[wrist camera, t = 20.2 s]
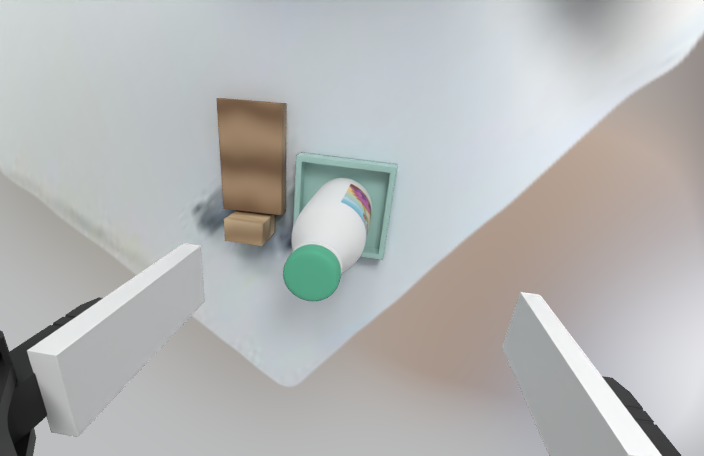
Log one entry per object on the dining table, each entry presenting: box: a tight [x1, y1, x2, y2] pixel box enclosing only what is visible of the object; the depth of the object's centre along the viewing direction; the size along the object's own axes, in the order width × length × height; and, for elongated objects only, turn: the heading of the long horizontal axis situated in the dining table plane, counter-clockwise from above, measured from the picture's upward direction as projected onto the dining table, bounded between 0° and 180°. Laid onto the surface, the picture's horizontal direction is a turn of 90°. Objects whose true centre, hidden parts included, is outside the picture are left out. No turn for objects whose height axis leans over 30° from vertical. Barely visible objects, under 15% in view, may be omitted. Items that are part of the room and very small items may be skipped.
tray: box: [293, 152, 397, 260], centre depth 45 cm, size 12×12×2 cm
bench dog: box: [224, 210, 275, 246], centre depth 46 cm, size 3×5×5 cm, turn 84°
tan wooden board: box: [217, 98, 286, 215], centre depth 44 cm, size 14×8×2 cm, turn 176°
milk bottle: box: [283, 178, 372, 301], centre depth 36 cm, size 8×8×20 cm
